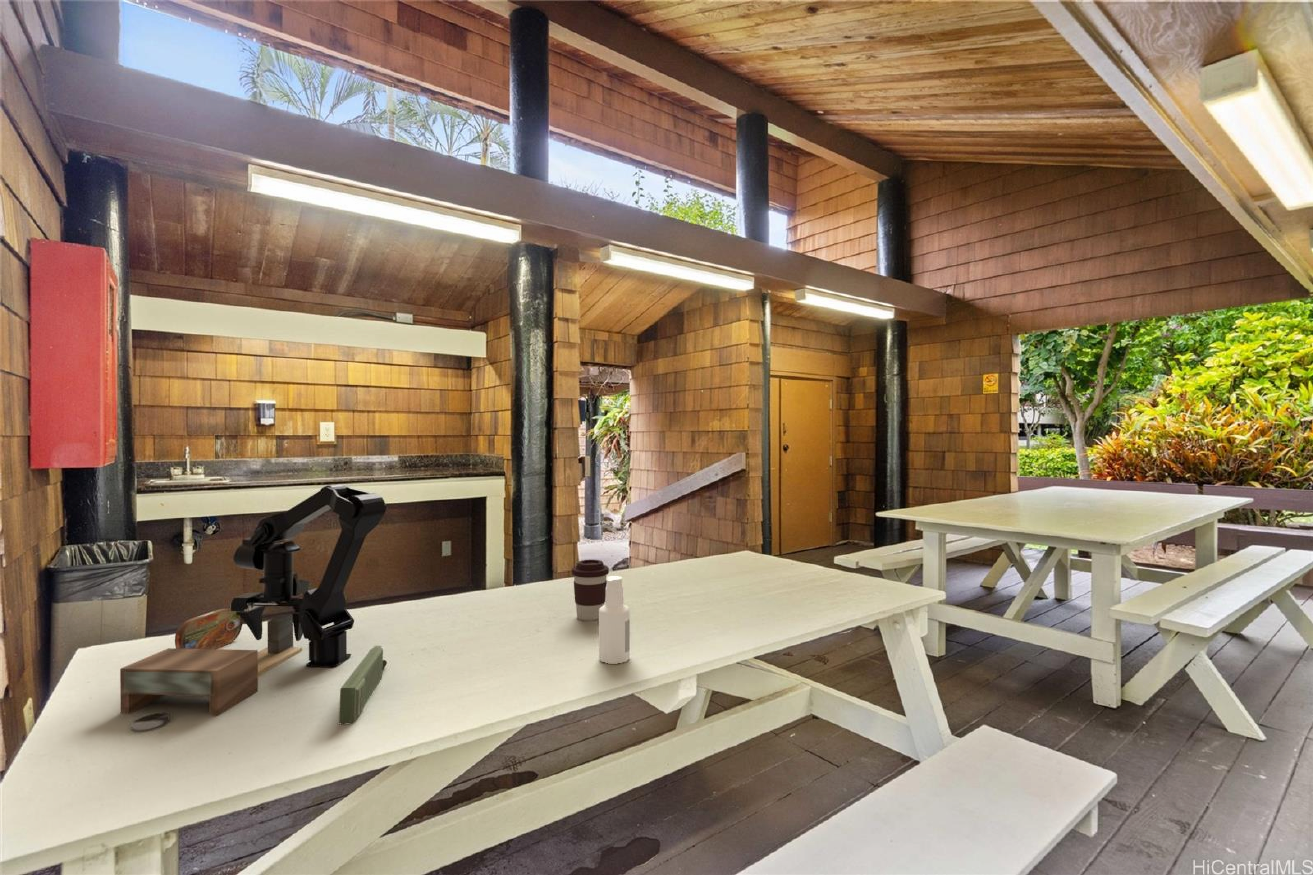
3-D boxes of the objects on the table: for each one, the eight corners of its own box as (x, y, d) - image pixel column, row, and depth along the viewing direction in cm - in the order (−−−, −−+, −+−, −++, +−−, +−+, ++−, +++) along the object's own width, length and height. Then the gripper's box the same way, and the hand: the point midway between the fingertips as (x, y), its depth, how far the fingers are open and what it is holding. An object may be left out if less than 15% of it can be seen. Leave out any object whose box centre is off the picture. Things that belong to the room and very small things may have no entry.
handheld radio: (335, 726, 103) (374, 669, 128) (356, 725, 104) (391, 668, 128) (336, 687, 103) (376, 637, 128) (357, 687, 104) (392, 637, 128)
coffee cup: (606, 623, 158) (606, 566, 157) (569, 623, 158) (569, 566, 157) (610, 611, 167) (610, 558, 167) (574, 611, 168) (574, 557, 167)
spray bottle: (636, 658, 133) (636, 577, 133) (613, 667, 128) (613, 583, 128) (615, 650, 138) (615, 572, 138) (592, 659, 133) (592, 577, 133)
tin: (183, 662, 131) (183, 623, 131) (171, 661, 132) (171, 622, 132) (243, 638, 146) (243, 604, 146) (232, 637, 146) (232, 603, 146)
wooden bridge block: (257, 691, 116) (257, 650, 116) (216, 716, 106) (216, 671, 106) (168, 689, 117) (168, 648, 117) (119, 714, 107) (118, 669, 107)
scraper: (304, 649, 139) (304, 614, 138) (231, 692, 116) (231, 650, 116) (271, 648, 139) (270, 614, 139) (191, 691, 116) (191, 650, 116)
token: (177, 719, 106) (177, 713, 106) (152, 734, 101) (152, 727, 101) (149, 719, 106) (149, 712, 106) (123, 733, 101) (123, 726, 101)
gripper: (339, 563, 143) (339, 629, 143) (263, 562, 144) (263, 627, 144) (310, 575, 132) (310, 645, 132) (228, 573, 133) (228, 644, 133)
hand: (278, 640), depth 136 cm, fingers open, 9 cm apart
